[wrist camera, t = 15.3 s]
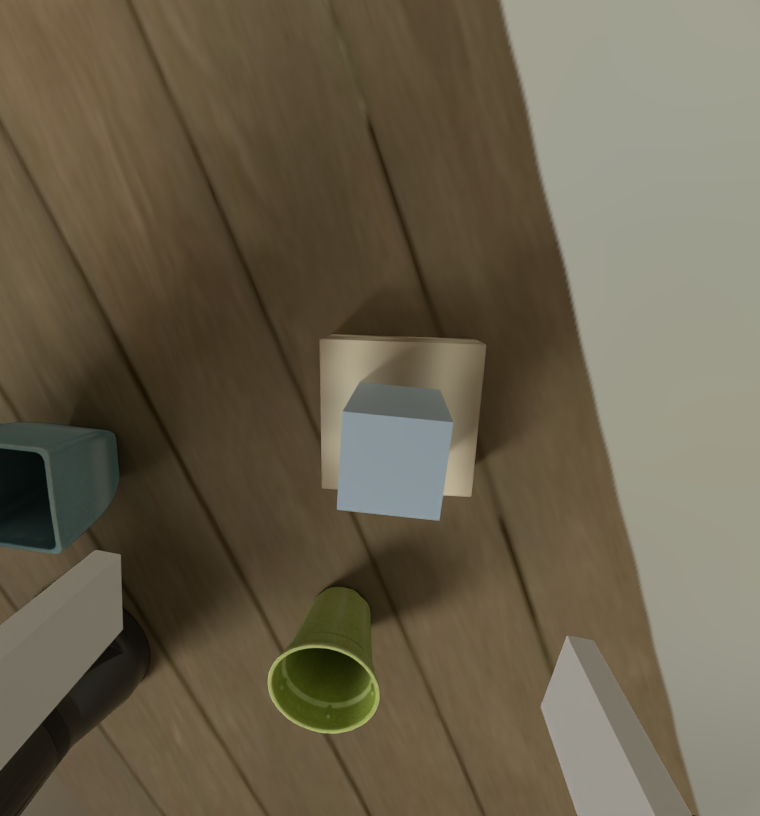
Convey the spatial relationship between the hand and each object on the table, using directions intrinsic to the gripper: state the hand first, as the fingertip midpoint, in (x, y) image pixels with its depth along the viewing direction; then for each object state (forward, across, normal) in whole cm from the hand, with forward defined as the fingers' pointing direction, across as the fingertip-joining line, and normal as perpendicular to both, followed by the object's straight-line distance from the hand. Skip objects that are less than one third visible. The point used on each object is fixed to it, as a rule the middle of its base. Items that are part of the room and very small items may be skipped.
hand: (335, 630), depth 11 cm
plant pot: (+24, -1, -22) cm, 32 cm away
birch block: (+24, +2, +1) cm, 24 cm away
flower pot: (+24, -27, -9) cm, 37 cm away
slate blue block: (+19, +1, +1) cm, 19 cm away
